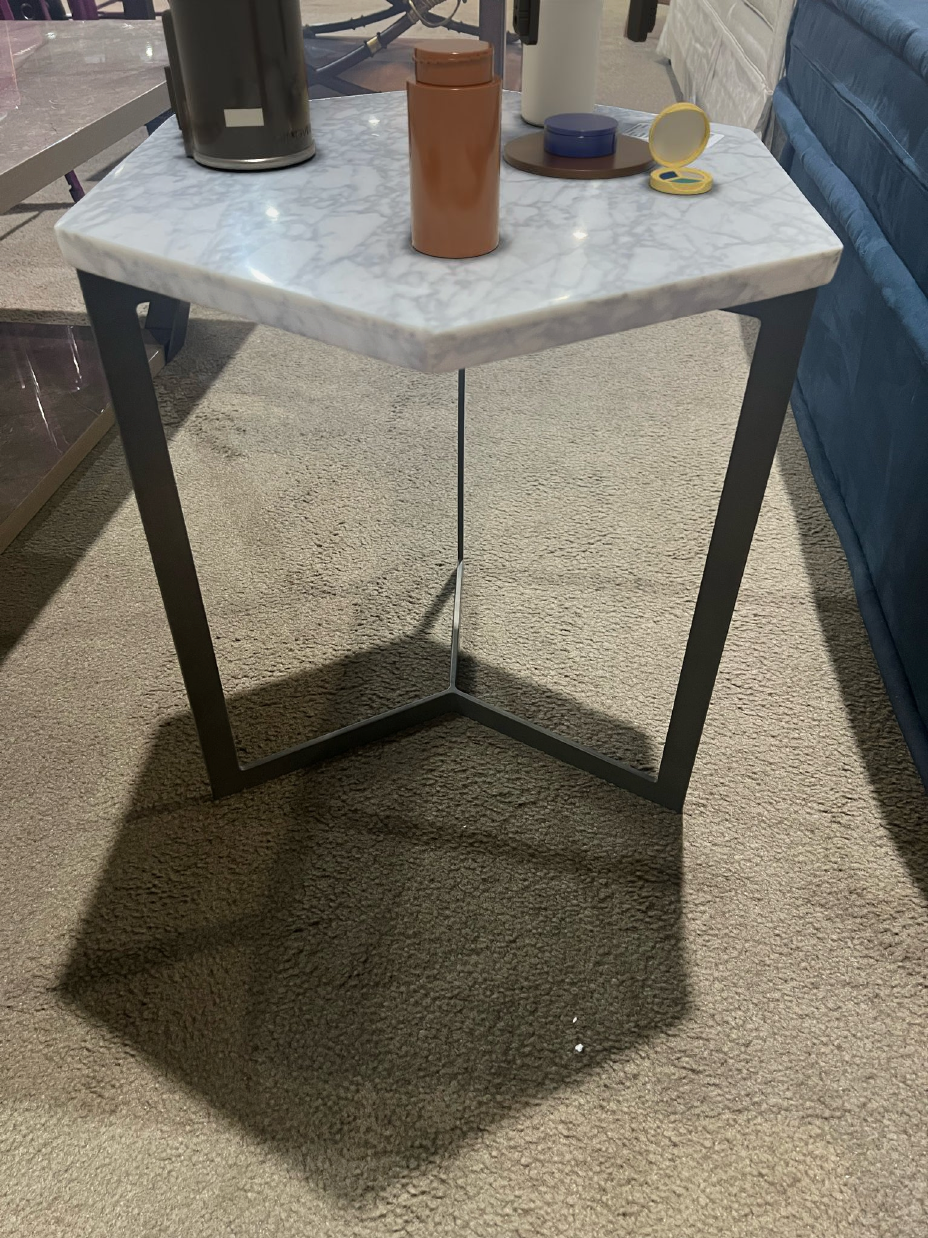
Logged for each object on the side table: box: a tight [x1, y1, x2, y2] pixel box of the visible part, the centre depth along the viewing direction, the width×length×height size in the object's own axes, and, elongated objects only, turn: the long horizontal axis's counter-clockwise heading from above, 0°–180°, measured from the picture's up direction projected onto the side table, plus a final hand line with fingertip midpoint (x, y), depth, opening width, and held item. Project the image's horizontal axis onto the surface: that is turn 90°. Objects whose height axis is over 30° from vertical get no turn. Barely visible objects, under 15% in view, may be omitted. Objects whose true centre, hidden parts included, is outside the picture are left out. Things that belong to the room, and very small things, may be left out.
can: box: [520, 0, 604, 128], centre depth 78 cm, size 6×6×12 cm
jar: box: [405, 38, 503, 259], centre depth 54 cm, size 5×5×11 cm
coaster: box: [502, 131, 657, 180], centre depth 73 cm, size 12×12×1 cm
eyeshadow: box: [648, 101, 714, 195], centre depth 66 cm, size 4×5×5 cm
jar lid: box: [543, 113, 620, 158], centre depth 72 cm, size 6×6×2 cm
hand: (583, 41), depth 68 cm, fingers open, 8 cm apart
